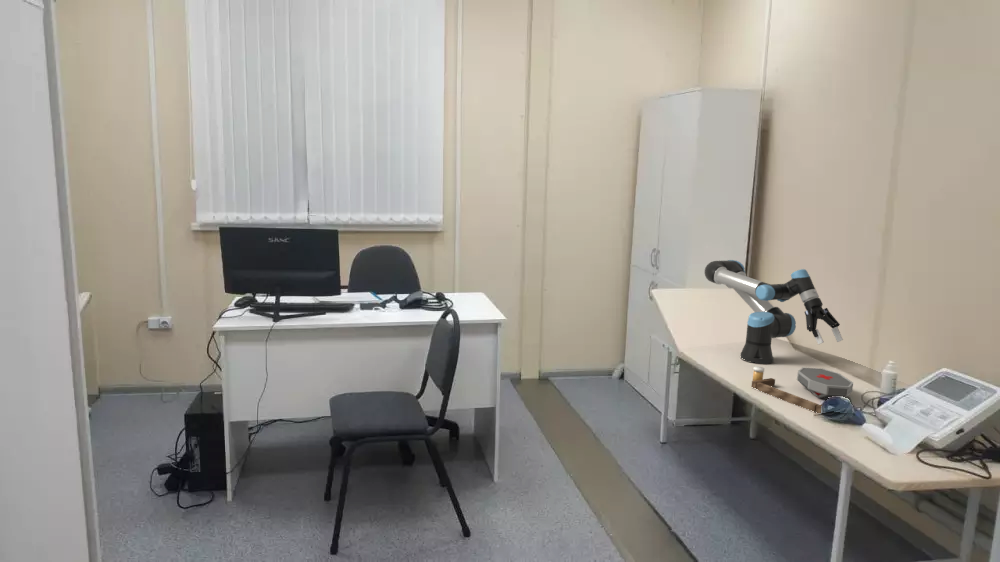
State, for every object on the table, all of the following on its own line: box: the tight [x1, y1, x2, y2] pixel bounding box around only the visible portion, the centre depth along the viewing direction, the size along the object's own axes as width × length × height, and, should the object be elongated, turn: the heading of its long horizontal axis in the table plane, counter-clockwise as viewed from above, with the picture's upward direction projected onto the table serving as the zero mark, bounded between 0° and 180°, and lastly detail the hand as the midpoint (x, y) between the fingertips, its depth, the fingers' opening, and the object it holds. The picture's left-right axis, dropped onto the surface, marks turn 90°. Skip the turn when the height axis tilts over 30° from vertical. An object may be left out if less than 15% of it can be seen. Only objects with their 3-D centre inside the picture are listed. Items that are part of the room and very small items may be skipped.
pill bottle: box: [752, 366, 765, 381], centre depth 283 cm, size 4×4×7 cm
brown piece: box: [750, 377, 823, 414], centre depth 266 cm, size 33×12×3 cm, turn 28°
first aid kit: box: [796, 366, 854, 399], centre depth 274 cm, size 18×8×25 cm
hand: (830, 342), depth 301 cm, fingers open, 13 cm apart
